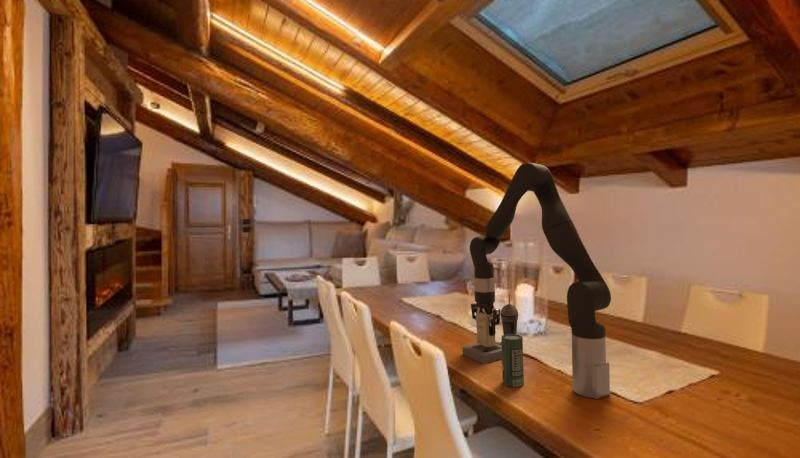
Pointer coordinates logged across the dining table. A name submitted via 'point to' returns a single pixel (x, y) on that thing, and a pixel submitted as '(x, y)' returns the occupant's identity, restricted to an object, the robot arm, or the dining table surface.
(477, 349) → the socket block
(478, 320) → the skincare box
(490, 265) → the robot arm
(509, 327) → the beverage cup
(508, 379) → the can
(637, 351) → the dining table surface
